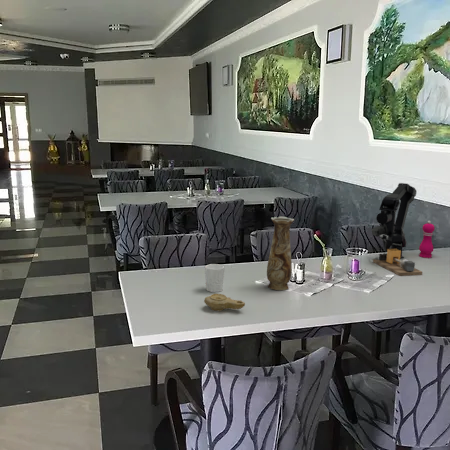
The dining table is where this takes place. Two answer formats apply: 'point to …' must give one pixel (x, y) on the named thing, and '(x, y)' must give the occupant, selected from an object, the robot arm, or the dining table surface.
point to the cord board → (398, 266)
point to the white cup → (214, 277)
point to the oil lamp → (223, 302)
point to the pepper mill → (427, 241)
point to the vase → (280, 255)
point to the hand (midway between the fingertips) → (386, 251)
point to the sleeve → (393, 255)
